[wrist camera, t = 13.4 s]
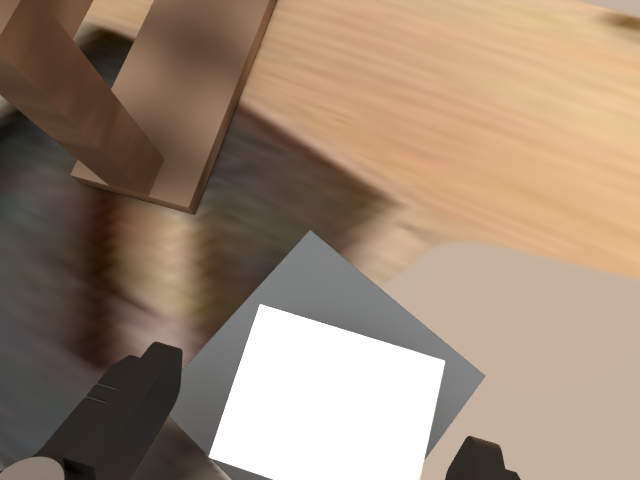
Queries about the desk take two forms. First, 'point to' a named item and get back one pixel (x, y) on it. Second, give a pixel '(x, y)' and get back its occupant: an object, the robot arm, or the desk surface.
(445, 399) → the slate mat
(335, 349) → the pale grey upright block
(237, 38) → the stand
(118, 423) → the robot arm
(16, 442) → the desk surface
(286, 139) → the desk surface
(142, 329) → the desk surface
